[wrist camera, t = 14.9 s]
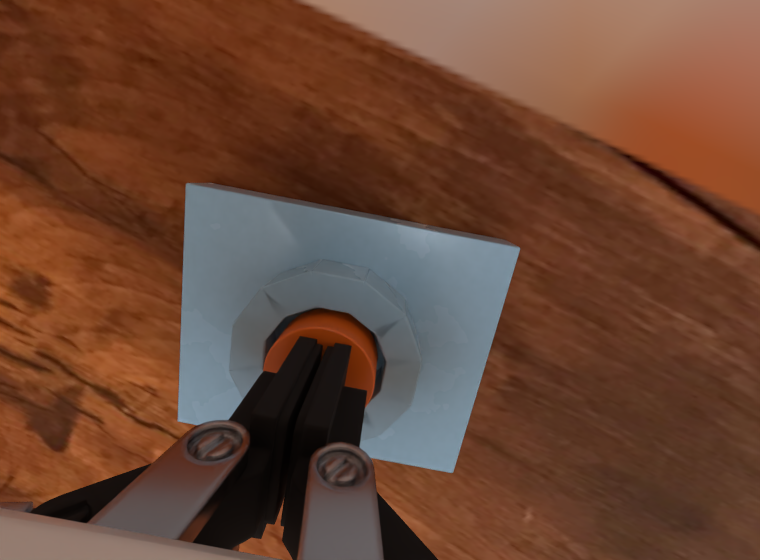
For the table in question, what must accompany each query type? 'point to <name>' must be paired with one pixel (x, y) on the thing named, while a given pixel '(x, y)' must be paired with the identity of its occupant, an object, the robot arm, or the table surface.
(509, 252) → the box
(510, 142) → the table surface
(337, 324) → the button
